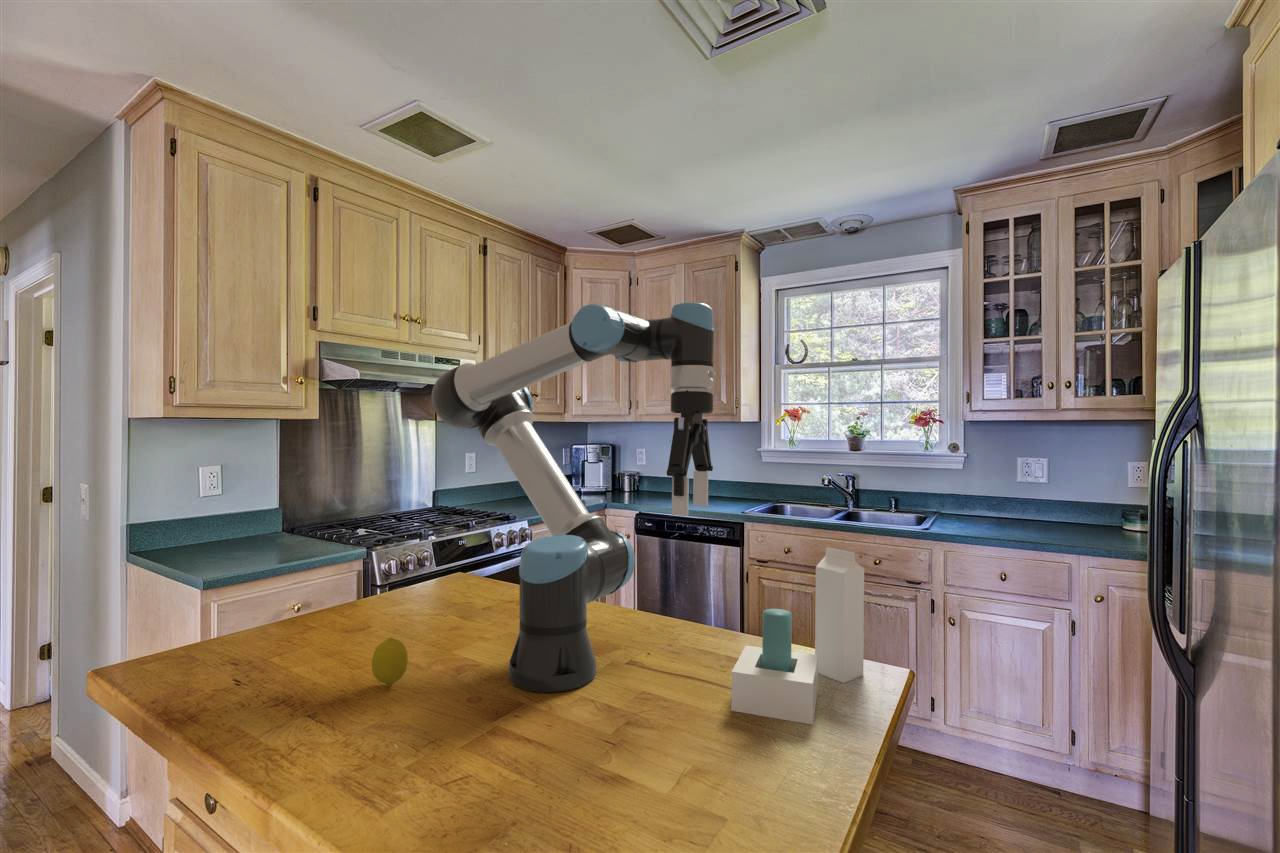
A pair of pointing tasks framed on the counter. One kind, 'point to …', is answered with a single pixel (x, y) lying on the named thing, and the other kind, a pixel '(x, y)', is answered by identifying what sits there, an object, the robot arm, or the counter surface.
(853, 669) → the milk
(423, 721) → the counter surface
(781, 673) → the socket
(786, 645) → the peg
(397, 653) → the lemon
